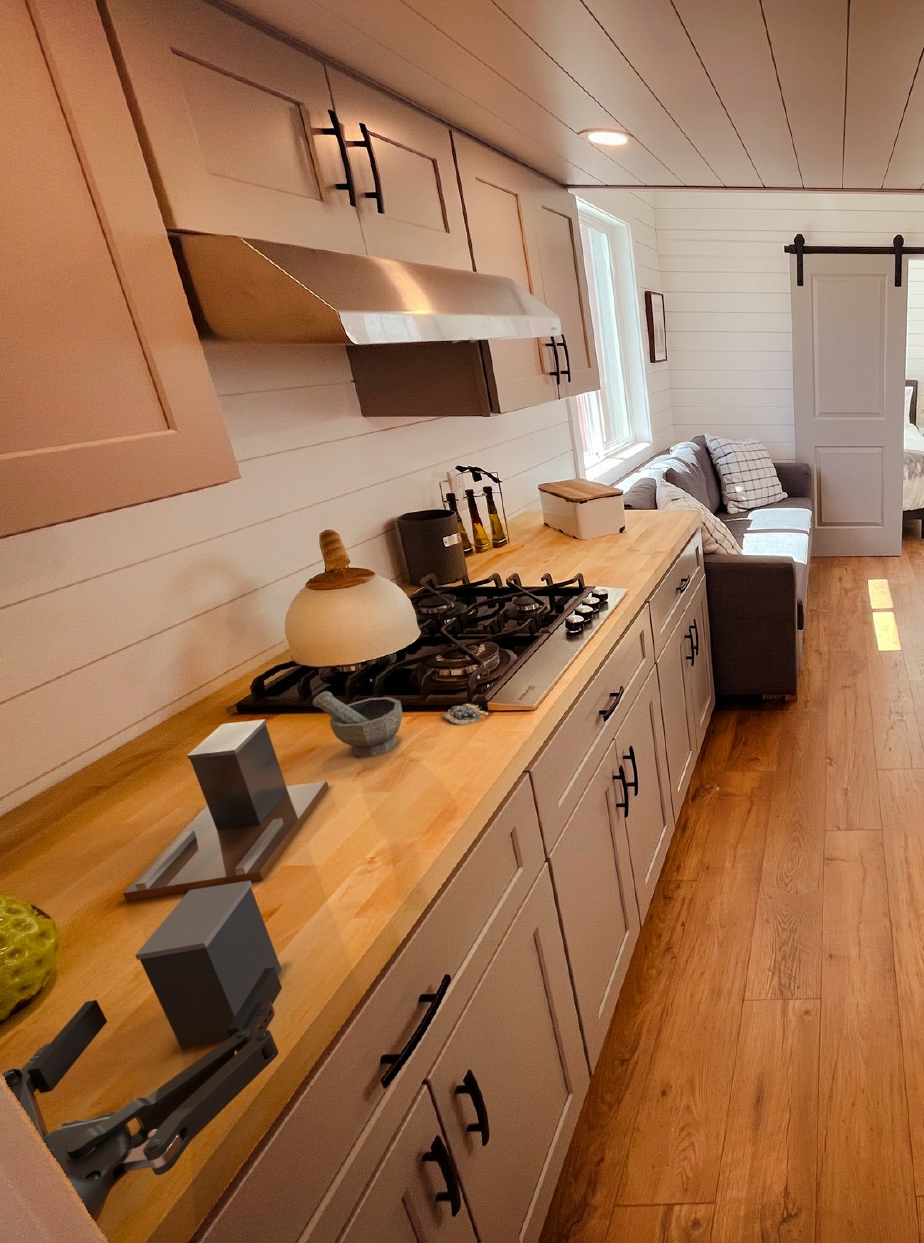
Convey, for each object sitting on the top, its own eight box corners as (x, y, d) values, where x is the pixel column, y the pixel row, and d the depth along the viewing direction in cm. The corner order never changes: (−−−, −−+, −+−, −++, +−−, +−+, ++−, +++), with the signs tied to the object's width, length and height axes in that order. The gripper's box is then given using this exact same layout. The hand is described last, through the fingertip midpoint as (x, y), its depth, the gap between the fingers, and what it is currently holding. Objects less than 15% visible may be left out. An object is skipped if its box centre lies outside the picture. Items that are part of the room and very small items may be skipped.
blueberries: (461, 704, 130) (459, 695, 129) (499, 708, 129) (497, 699, 128) (434, 722, 124) (432, 713, 123) (475, 727, 122) (473, 717, 122)
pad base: (126, 903, 83) (84, 810, 79) (219, 803, 101) (189, 723, 97) (263, 881, 87) (231, 791, 82) (329, 788, 105) (305, 710, 100)
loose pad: (179, 1051, 66) (134, 955, 62) (226, 980, 74) (189, 889, 69) (244, 1037, 68) (204, 942, 63) (283, 969, 75) (250, 880, 71)
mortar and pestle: (401, 726, 122) (386, 665, 118) (416, 746, 116) (401, 683, 112) (324, 750, 115) (304, 686, 111) (336, 774, 109) (316, 706, 104)
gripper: (-239, 1372, 43) (34, 1056, 62) (235, 1245, 50) (351, 993, 69) (-308, 1303, 41) (-1, 995, 60) (202, 1177, 47) (332, 935, 66)
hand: (187, 993), depth 64 cm, fingers open, 13 cm apart
